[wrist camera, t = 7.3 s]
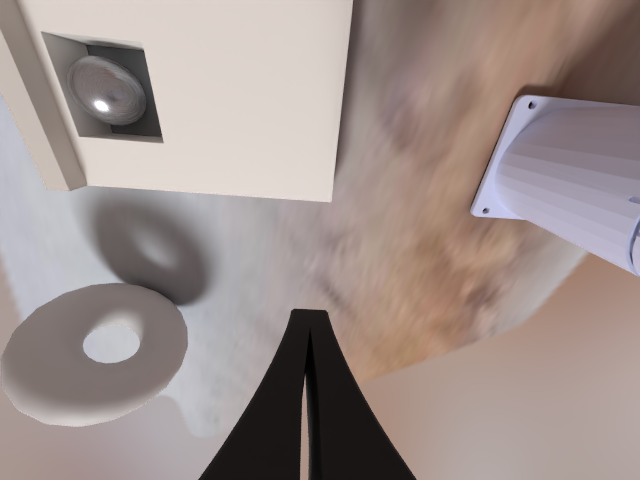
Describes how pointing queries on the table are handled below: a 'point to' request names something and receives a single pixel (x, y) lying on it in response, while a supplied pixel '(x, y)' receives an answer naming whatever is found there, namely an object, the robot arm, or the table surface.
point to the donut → (81, 371)
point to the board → (185, 93)
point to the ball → (106, 90)
